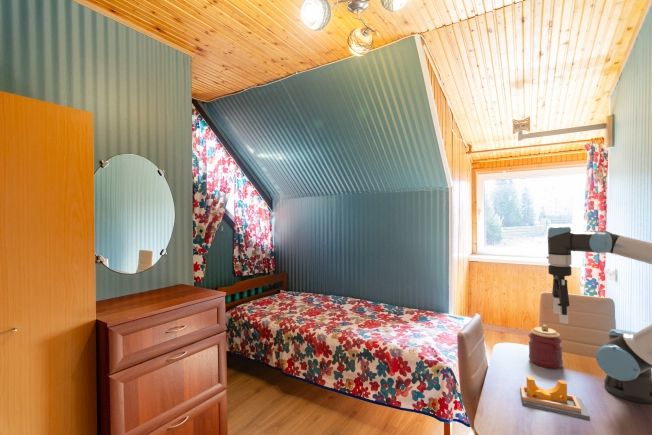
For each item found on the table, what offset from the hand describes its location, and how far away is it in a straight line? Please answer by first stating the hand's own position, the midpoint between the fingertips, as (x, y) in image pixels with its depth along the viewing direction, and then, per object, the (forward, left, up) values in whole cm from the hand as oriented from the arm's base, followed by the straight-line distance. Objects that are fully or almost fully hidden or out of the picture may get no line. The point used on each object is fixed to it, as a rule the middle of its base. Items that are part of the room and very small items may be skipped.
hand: (560, 318), depth 129 cm
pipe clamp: (+7, +17, -26) cm, 32 cm away
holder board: (+6, +17, -27) cm, 32 cm away
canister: (+3, -20, -27) cm, 34 cm away
